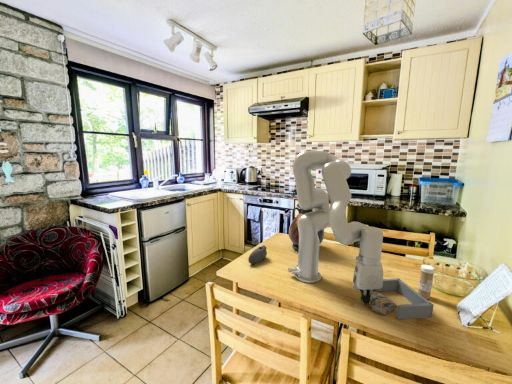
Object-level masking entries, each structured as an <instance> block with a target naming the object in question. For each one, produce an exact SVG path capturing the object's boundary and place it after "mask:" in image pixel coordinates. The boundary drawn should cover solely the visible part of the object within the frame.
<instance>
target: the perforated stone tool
mask: <svg viewBox="0 0 512 384" xmlns="http://www.w3.org/2000/svg"><path fill="white" fill-rule="evenodd" d="M267 252H268V251H267V246H266V245H261V246H259V247H256V248H255V249H253V251H252V252H251V253H250V254H249V256H248V263H249V264H251V265H253V264H254V265H255V264H256V263H260V262H261V261H262V260H264V259H265V258H266V257H267V255H268V253H267Z"/></svg>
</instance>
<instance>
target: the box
mask: <svg viewBox="0 0 512 384" xmlns="http://www.w3.org/2000/svg"><path fill="white" fill-rule="evenodd" d="M391 291H392V292H395V291H397V292H398V293H399V294H400V295H402V296H403V297H404V298H405V299H407V300H408V301H409V302H410V303H407V304H397V309H396V316H395V318H396V319H397V320H408V319H409V320H411V319H412V320H413V319H423V318H425V319H426V318H432V317H433V313H434V312H433V311H434V306H435V305H434V303H432V302H430V301H429V299H425V298H424V297H423V296H421V295H420V294H419V293H418V291H416V290H415V289H414V288H412V287H411V286H410V285H408V284H407V283H405V281H404V280H402V279H400V278H383V287H382V288H381V289H377V290H375V291H374V292H391Z"/></svg>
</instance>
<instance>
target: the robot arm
mask: <svg viewBox="0 0 512 384" xmlns="http://www.w3.org/2000/svg"><path fill="white" fill-rule="evenodd" d="M312 170H321V176H322V179H323V182H324V185H325V188H326V191H325V190H324V189H323V188H319V187H316V186H315V179H314V176H313V175H312V173H311V171H312ZM292 172H293V175H294V176H293V177H294V180H295V181H294V182H295V189H296V195H297V202H298V203H297V204H299V206H300V208H301V209H303V210H310V209H312V210H313V212H309V213H306V214H303V215H302V216H301V217H300V218H299V220H298V231H299V252H298V258H297V259H298V260H297V264H296V266H294V267H288V268H287V272H288V273H291V274H292V275H294V277H295V278H296V279H297V280H298V281H300V282H303V283H308V284H313V283H315V284H316V283H318V282H320V280H321V279H322V274H321V273H320V272H319V260H320V245H321V244H320V242H319V237H318V234H317V232H318V231H320V230H323V229H324V230H325V229H328V228H329V226H330V229H331V230H332V233H333V236H334V239H335V240H336V241H337V242H338V243H339V244H340V245H344V246H349V245H351V244H353V243H355V242H359V251H358V256H355V260H356V263H355V266H354V270H353V277H352V283H353V286H352V289H353V290H354V291H359V292H360V293H361V294H360V300H361V302H362V303H363V304H364V305H365V306H366V305H370V304H371V303H370V302H371V295H372V294H373V292H374V291H375V290H377V289H381V288H382V287H383V279H384V268H383V263H382V262H381V259H382V258H381V257H382V251H383V250H382V249H383V241H384V240H383V239H384V232H383V230H382V229H381V228H379V227H376V226H369V225H366V224H364V223H361V222H359V221H351V222H349V221H348V218H347V207H348V205H349V202H350V201H351V199H352V192H351V190H350V187H349V184H348V182H347V180H348V179H349V178H350V176H351V175H352V168H351V165H350V164H349V163H348V162H347V161H345V160H343V159H342V158H339V157H338V156H335V155H334V154H333V153H331V152H328V151H325V150H305V151H301V152H300V153H299V154H297V155H296V156H295V157H294V160H293V163H292ZM329 201H330V202H329ZM300 208H299V209H300Z"/></svg>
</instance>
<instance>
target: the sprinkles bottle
mask: <svg viewBox="0 0 512 384" xmlns="http://www.w3.org/2000/svg"><path fill="white" fill-rule="evenodd" d="M435 271H436V269H435V267H434V266H432V265H429V264H421V265H420V277H419V283H418V290H417V293H419V294H420V295H421V296H423V297H424V298H425V299H427V300H430V299H431V292H432V288H433V287H432V286H433V282H434V279H433V278H434V274H435Z"/></svg>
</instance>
